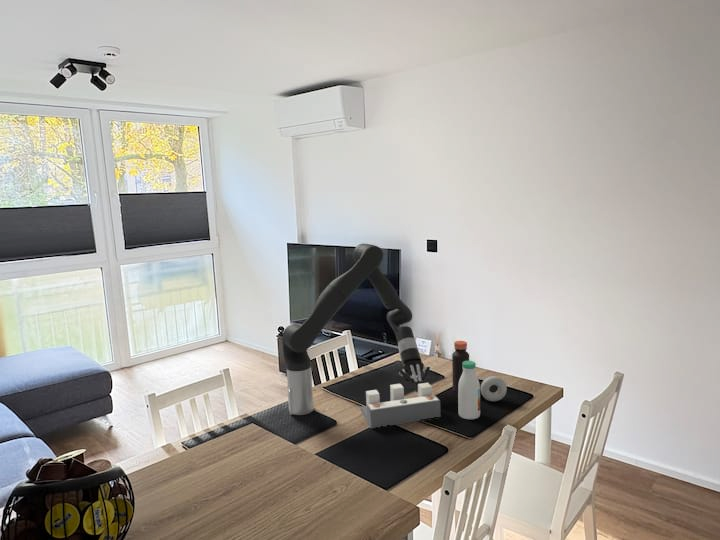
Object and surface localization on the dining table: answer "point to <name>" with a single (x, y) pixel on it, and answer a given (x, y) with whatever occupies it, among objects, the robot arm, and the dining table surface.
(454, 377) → the vinegar
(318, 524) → the dining table surface
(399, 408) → the block
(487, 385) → the donut
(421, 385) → the key right
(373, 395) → the key left
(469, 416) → the milk bottle
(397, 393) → the key middle
